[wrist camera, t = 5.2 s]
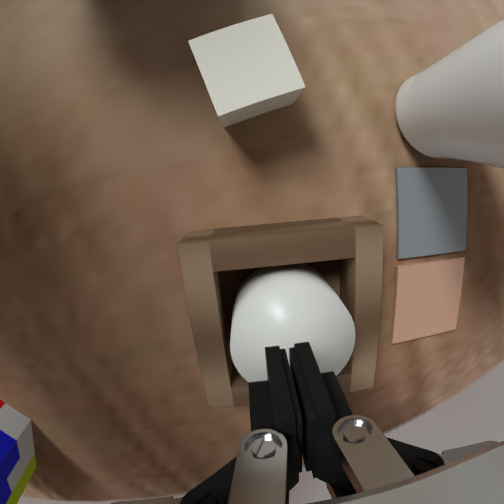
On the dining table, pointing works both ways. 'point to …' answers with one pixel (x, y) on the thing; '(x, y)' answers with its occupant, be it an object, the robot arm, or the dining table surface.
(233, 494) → the robot arm
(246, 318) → the dome button
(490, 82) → the drinking glass
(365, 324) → the button frame
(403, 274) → the pad
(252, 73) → the white cube
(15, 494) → the puzzle toy
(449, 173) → the pad mid
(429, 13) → the dining table surface
